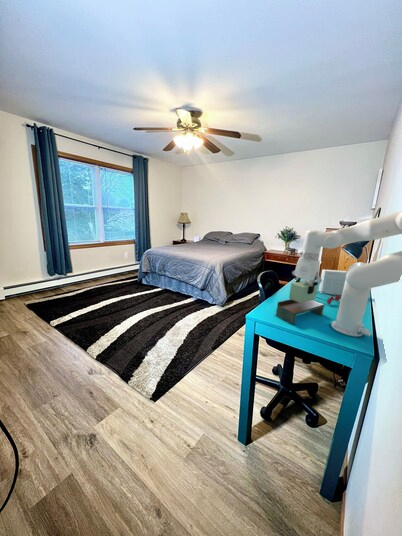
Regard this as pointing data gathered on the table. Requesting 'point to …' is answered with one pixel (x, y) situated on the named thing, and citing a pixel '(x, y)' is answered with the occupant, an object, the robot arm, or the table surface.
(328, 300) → the glasses
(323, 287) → the skincare box
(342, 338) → the table surface
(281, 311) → the stand
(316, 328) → the table surface
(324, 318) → the table surface
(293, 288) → the tissue box
